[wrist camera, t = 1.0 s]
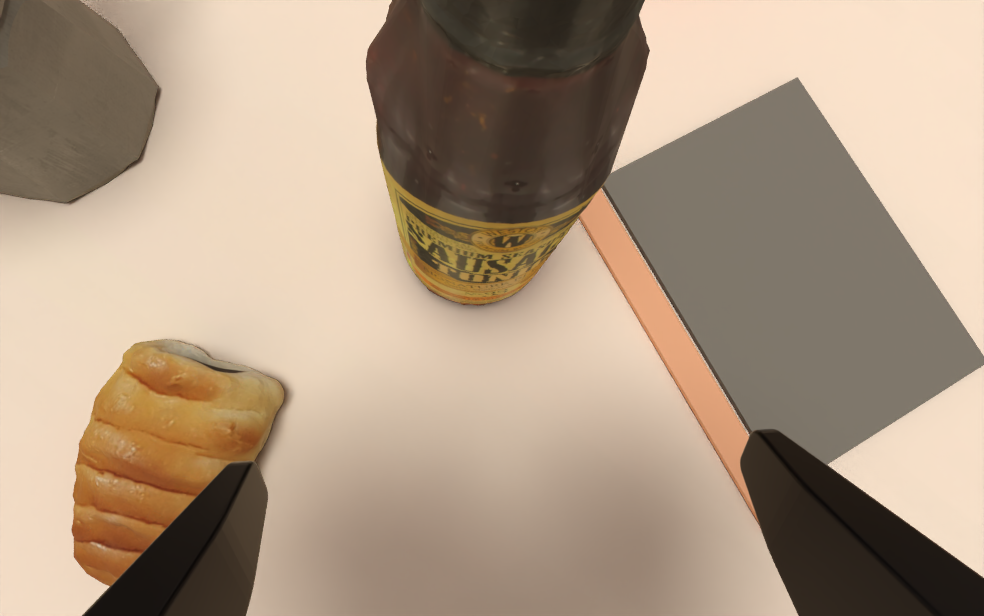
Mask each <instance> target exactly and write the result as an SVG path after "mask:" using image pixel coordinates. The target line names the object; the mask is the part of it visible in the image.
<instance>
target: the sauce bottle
mask: <svg viewBox="0 0 984 616" xmlns="http://www.w3.org/2000/svg"><path fill="white" fill-rule="evenodd" d="M644 1H645V0H392V2H391V4H390V5H389V11H388V14H387V18H386V22H385V24H384V25H383V27H382V28H381V30H380V31H379V33H378V34H377V36H376V37H375V39H374V40H373V42H372V43H371V45H370V46H369V48H368V52H367V59H366V71H367V82H368V85H369V89H370V93H371V97H372V101H373V105H374V109H375V113H376V118H377V126H376V131H377V145H378V149H379V154H380V158H381V163H382V167H383V171H384V175H385V179H386V183H387V187H388V192H389V195H390V199H391V203H392V207H393V211H394V214H395V218H396V223H397V228H398V232H399V236H400V239H401V243H402V247H403V251H404V254H405V257H406V259H407V262H408V264H409V265H410V267H411V269H412V270H413V272H414V273H415V274H416V276H417V277H418V278H419V279H420V280H421V282H422V283H423V284H424V285H425V286H427V288H428V289H429V290H430V291H432V292H433V293H435V294H437V295H439V296H441V297H443V298H445V299H448V300H451V301H454V302H458V303H461V304H463V305H466V304H473V305H484V304H487V303H492V302H495V301H500V300H502V299H505V298H507V297H509V296H511V295H513V294H515V293H516V292H518V291H519V290H521V289H522V288H523V287H524V286H525V285H526V284H527V283H528V282H529V281H530V280H531V279H532V278H533V277H534V276H535V274H536V273H537V272H538V270H539V269H540V268H541V266H542V265H543V264H544V262H545V261H546V260H547V259H548V257H549V256H550V254H551V253H552V252H553V251H554V249H555V248H556V247H557V245H558V244H559V243H560V242H561V240H562V239H563V238H564V236H565V235H566V234H567V233H568V231H569V230H570V228H571V227H572V225H573V224H574V223H575V222H576V220H577V219H578V217H579V216H580V214H581V213H582V212H583V211H584V210H585V209H586V207H587V206H588V205H589V203H590V202H591V200H592V199H593V197H594V196H595V195H596V193H597V192H598V191H599V190H600V188H601V187H602V186H603V184H604V183H605V181H606V179H607V178H608V176H609V175H610V173H611V170H612V167H613V164H614V161H615V158H616V155H617V152H618V149H619V146H620V143H621V140H622V137H623V134H624V131H625V128H626V125H627V123H628V120H629V117H630V114H631V111H632V108H633V105H634V102H635V99H636V96H637V93H638V90H639V87H640V84H641V81H642V78H643V75H644V72H645V69H646V65H647V58H648V55H649V52H650V50H649V47H648V45H647V43H646V36H645V33H644V31H643V28H642V25H641V21H640V18H639V13H640V10H641V8H642V5H643V3H644Z"/></svg>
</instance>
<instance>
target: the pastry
mask: <svg viewBox="0 0 984 616" xmlns="http://www.w3.org/2000/svg"><path fill="white" fill-rule="evenodd" d="M283 400H284V390H283V388H282V386H281V384H280V383H279V382H278V381H277V380H276V379H273V378H271V377H268V376H265V375H263V374H261V373H260V372H258V371H256V370H254V369H252V368H249V367H246V366H243V365H236V364H233V363H230V362H224V361H219V360H213V359H212V358H210V357H209V356H208V355H206V353H205V352H204V351H202V350H201V349H199V348H197V347H195V346H194V345H189V344H185V343H182V342H180V341H176V340H167V339H164V340H154V341H146V342H140V343H136V344H134V345H133V346H132V347H131V348H130V349H129V350H127V351H126V352H125V353H124V355H123V362H122V363H121V365H120V367H119V368H118V369H117V371H116V372H115V373H114V374H113V376H112V377H111V378H110V379H109V380H108V381H107V383H106V384H105V385H104V387H103V388H102V389H101V390H100V392H99V394H98V395H97V397H96V398H95V402H94V406H93V411H92V414H91V420H90V423H89V425H88V427H87V428H86V430H85V432H84V435H83V437H82V439H81V440H80V443H79V453H78V458H77V462H76V465H75V471H76V475H77V477H76V482H75V485H74V492H73V498H74V501H75V504H74V509H73V510H74V519H73V525H72V534H73V536H74V557H75V559H76V560H77V562H78V563H79V564H80V566H81V567H82V568H83V569H84V570H85V572H86V573H87V574H89V575H90V576H92V577H94V578H95V579H97V580H98V581H100V582H102V583H104V584H106V585H108V586H111V585H112V584H113V583H114V582H115V581H116V580H117V579H118V578H119V577H120V576H121V575H122V574H123V573H124V571H125V570H126V569H127V568H128V567H129V566H130V565H131V564H132V563H133V562H134V561H135V560H136V559H137V558H138V557H139V556H140V555H141V554H142V553H143V552H144V551H145V550H146V549H147V548H148V547H149V545H150V544H151V543H152V542H153V541H154V540H155V539H156V538H157V537H158V536H159V535H160V534H161V533H162V532H163V531H164V530H165V529H166V528H167V527H168V526H169V525H170V524H171V523H172V522H173V520H174V519H175V518H176V517H177V516H178V515H179V514H180V513H181V512H182V511H183V510H184V509H185V508H186V507H187V506H188V505H189V504H190V503H191V502H192V501H193V500H194V499H195V498H196V497H197V495H198V494H199V493H200V492H201V491H202V490H203V489H204V488H205V487H206V486H207V485H208V484H209V483H210V482H211V481H212V480H213V479H214V478H215V477H216V476H217V475H218V474H219V473H220V472H221V470H222V469H223V468H224V467H225V466H226V465H228V464H229V463H231V462H235V461H255V459H256V457H257V456H258V454H259V452H260V451H261V450H262V448H263V446H264V444H265V442H266V440H267V439H268V436H269V433H270V431H271V426H272V423H273V421H274V419H275V415H276V412H277V411H278V410H279V408H280V407H281V405H282V403H283Z"/></svg>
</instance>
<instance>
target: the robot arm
mask: <svg viewBox="0 0 984 616" xmlns="http://www.w3.org/2000/svg"><path fill="white" fill-rule="evenodd" d="M740 468H741V472H742V475H743V478H744V481H745V484H746V487H747V490H748V492H749V495H750V498H751V501H752V504H753V507H754V510H755V513H756V516H757V519H758V522H759V525H760V528H761V530H762V533H763V536H764V539H765V542H766V544H767V547H768V549H769V552H770V554H771V556H772V559H773V561H774V563H775V565H776V568H777V570H778V572H779V574H780V576H781V578H782V581H783V583H784V585H785V587H786V589H787V591H788V594H789V596H790V598H791V600H792V602H793V604H794V607H795V609H796V611H797V613H798V615H799V616H984V578H983V577H982V576H980V575H979V574H978V573H976V572H975V571H973V570H972V569H971V568H969V567H968V566H967V565H965V564H964V563H962V562H961V561H960V560H958V559H957V558H955V557H954V556H953V555H951V554H950V553H948V552H947V551H946V550H944V549H943V548H942V547H940V546H939V545H937V544H936V543H935V542H933V541H932V540H930V539H929V538H928V537H926V536H925V535H923V534H922V533H921V532H919V531H918V530H916V529H915V528H914V527H912V526H911V525H910V524H908V523H907V522H905V521H904V520H903V519H901V518H900V517H898V516H897V515H896V514H894V513H893V512H891V511H890V510H889V509H887V508H886V507H885V506H883V505H882V504H880V503H879V502H878V501H876V500H875V499H873V498H872V497H871V496H869V495H868V494H866V493H865V492H864V491H862V490H861V489H860V488H858V487H857V486H855V485H854V484H853V483H851V482H850V481H848V480H847V479H846V478H844V477H843V476H841V475H840V474H839V473H837V472H836V471H834V470H833V469H832V468H830V467H829V466H828V465H826V464H825V463H823V462H822V461H821V460H819V459H818V458H816V457H815V456H814V455H812V454H811V453H809V452H808V451H807V450H805V449H804V448H803V447H801V446H800V445H798V444H797V443H796V442H794V441H793V440H791V439H790V438H789V437H787V436H786V435H784V434H783V433H782V432H780V431H778V430H776V429H760V430H754V431H753V432H752V433H751V434H750V436H749V439H748V441H747V443H746V446H745V448H744V450H743V453H742V455H741V458H740ZM267 502H268V492H267V487H266V485H265V482H264V480H263V477H262V475H261V472H260V470H259V467H258V465H257V463H256V462H254V461H235V462H231V463H229V464H228V465H226V466H225V467H224V468H223V469H222V470H221V472H220V473H219V474H218V475H217V476H216V477H215V478H214V479H213V480H212V481H211V482H210V483H209V484H208V485H207V486H206V487H205V488H204V489H203V490H202V491H201V492H200V493H199V494H198V495H197V497H196V498H195V499H194V500H193V501H192V502H191V503H190V504H189V505H188V506H187V507H186V508H185V509H184V510H183V511H182V512H181V513H180V514H179V515H178V516H177V517H176V518H175V519H174V520H173V522H172V523H171V524H170V525H169V526H168V527H167V528H166V529H165V530H164V531H163V532H162V533H161V534H160V535H159V536H158V537H157V538H156V539H155V540H154V541H153V542H152V543H151V544H150V545H149V547H148V548H147V549H146V550H145V551H144V552H143V553H142V554H141V555H140V556H139V557H138V558H137V559H136V560H135V561H134V562H133V563H132V564H131V565H130V566H129V567H128V568H127V569H126V570H125V571H124V573H123V574H122V575H121V576H120V577H119V578H118V579H117V580H116V581H115V582H114V583H113V584H112V585H111V586H110V587H109V588H108V589H107V590H106V591H105V592H104V593H103V594H102V595H101V596H100V598H99V599H98V600H97V601H96V602H95V603H94V604H93V605H92V606H91V607H90V608H89V609H88V610H87V611H86V612H85V613H84V614H83V615H82V616H246V613H247V609H248V606H249V602H250V598H251V594H252V590H253V585H254V580H255V575H256V569H257V563H258V557H259V551H260V545H261V538H262V532H263V526H264V520H265V514H266V508H267Z"/></svg>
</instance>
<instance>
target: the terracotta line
mask: <svg viewBox="0 0 984 616" xmlns="http://www.w3.org/2000/svg"><path fill="white" fill-rule="evenodd" d="M579 219H580V221H581V222H582V224H583V226H584V227H585V229H586V231H587V232H588V234H589V236H590V238H591V239H592V241H593V243H594V244H595V246H596V248H597V249H598V251H599V253H600V255H601V256H602V258H603V260H604V261H605V263H606V265H607V266H608V268H609V270H610V272H611V273H612V275H613V277H614V278H615V280H616V282H617V283H618V285H619V287H620V289H621V290H622V292H623V294H624V295H625V297H626V299H627V301H628V302H629V304H630V306H631V307H632V309H633V311H634V312H635V314H636V316H637V318H638V319H639V321H640V323H641V324H642V326H643V328H644V329H645V331H646V333H647V335H648V336H649V338H650V340H651V341H652V343H653V345H654V346H655V348H656V350H657V352H658V353H659V355H660V357H661V358H662V360H663V362H664V363H665V365H666V367H667V369H668V370H669V372H670V374H671V375H672V377H673V379H674V380H675V382H676V384H677V386H678V387H679V389H680V391H681V392H682V394H683V396H684V397H685V399H686V401H687V403H688V404H689V406H690V408H691V409H692V411H693V413H694V414H695V416H696V418H697V420H698V421H699V423H700V425H701V426H702V428H703V430H704V431H705V433H706V435H707V437H708V438H709V440H710V442H711V443H712V445H713V447H714V448H715V450H716V452H717V454H718V455H719V457H720V459H721V460H722V462H723V464H724V465H725V467H726V469H727V471H728V472H729V474H730V476H731V477H732V479H733V481H734V482H735V484H736V486H737V488H738V489H739V491H740V493H741V494H742V496H743V498H744V499H745V501H746V503H747V505H748V506H749V508H750V510H751V511H752V513H753V515H754V516H755V518H756V520H757V522H758V519H757V516H756V513H755V510H754V507H753V504H752V501H751V498H750V495H749V492H748V490H747V487H746V484H745V481H744V478H743V475H742V472H741V468H740V458H741V455H742V453H743V450H744V448H745V446H746V443H747V441H748V439H749V436H748V435H747V433H746V431H745V430H744V428H743V426H742V425H741V423H740V421H739V420H738V418H737V416H736V415H735V413H734V411H733V410H732V408H731V406H730V405H729V403H728V401H727V400H726V398H725V396H724V395H723V393H722V391H721V390H720V388H719V386H718V385H717V383H716V381H715V380H714V378H713V376H712V375H711V373H710V371H709V370H708V368H707V366H706V364H705V363H704V361H703V359H702V358H701V356H700V354H699V353H698V351H697V349H696V348H695V346H694V344H693V343H692V341H691V339H690V338H689V336H688V334H687V333H686V331H685V329H684V328H683V326H682V324H681V323H680V321H679V319H678V318H677V316H676V314H675V313H674V311H673V309H672V308H671V306H670V304H669V303H668V301H667V299H666V298H665V296H664V294H663V293H662V291H661V289H660V288H659V286H658V284H657V283H656V281H655V279H654V278H653V276H652V274H651V273H650V271H649V269H648V268H647V266H646V264H645V262H644V261H643V259H642V257H641V256H640V254H639V252H638V251H637V249H636V247H635V246H634V244H633V242H632V241H631V239H630V237H629V236H628V234H627V232H626V231H625V229H624V227H623V226H622V224H621V222H620V221H619V219H618V217H617V216H616V214H615V212H614V211H613V209H612V207H611V206H610V204H609V202H608V201H607V199H606V197H605V196H604V194H603V192H602V191H601V189H600V190H599V191H598V192H597V193H596V195H595V196H594V197H593V199H592V200H591V202H590V203H589V205H588V206H587V207H586V209H585V210H584V211H583V212H582V213H581V214H580V216H579ZM758 523H759V522H758Z"/></svg>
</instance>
